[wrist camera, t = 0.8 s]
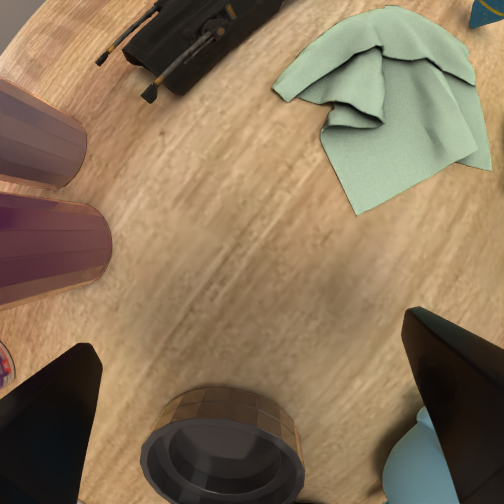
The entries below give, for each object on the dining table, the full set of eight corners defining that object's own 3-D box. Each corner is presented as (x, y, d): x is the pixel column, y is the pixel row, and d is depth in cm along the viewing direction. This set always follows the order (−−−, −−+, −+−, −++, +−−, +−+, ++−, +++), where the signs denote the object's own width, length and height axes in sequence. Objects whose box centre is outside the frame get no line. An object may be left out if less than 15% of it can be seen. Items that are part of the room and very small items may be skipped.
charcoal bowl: (273, 494, 23) (274, 530, 18) (152, 463, 23) (136, 496, 18) (319, 403, 22) (331, 439, 17) (170, 364, 22) (148, 394, 17)
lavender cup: (73, 196, 22) (-39, 176, 10) (25, 183, 22) (-73, 165, 10) (97, 120, 21) (3, 60, 9) (46, 116, 21) (-41, 73, 9)
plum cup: (103, 296, 22) (-5, 339, 10) (45, 271, 22) (-60, 291, 10) (120, 214, 22) (6, 200, 10) (59, 197, 22) (-50, 180, 10)
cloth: (470, 38, 19) (481, 28, 17) (488, 241, 20) (505, 242, 18) (283, -16, 20) (284, -33, 17) (257, 202, 21) (256, 198, 19)
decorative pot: (518, 370, 21) (597, 416, 7) (460, 482, 22) (505, 545, 8) (410, 369, 21) (504, 461, 8) (348, 498, 22) (375, 594, 9)
